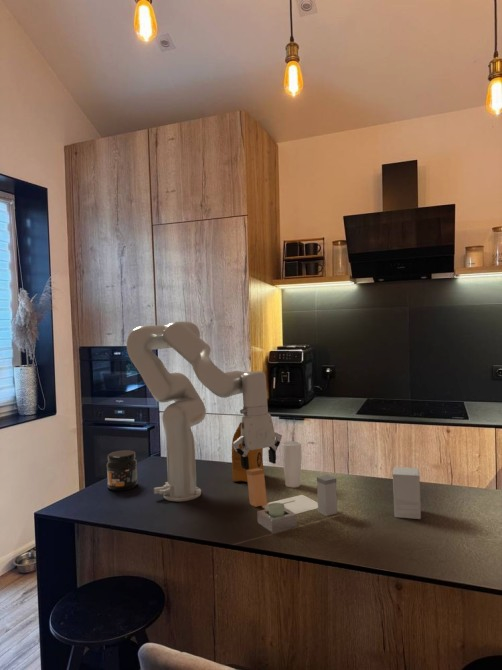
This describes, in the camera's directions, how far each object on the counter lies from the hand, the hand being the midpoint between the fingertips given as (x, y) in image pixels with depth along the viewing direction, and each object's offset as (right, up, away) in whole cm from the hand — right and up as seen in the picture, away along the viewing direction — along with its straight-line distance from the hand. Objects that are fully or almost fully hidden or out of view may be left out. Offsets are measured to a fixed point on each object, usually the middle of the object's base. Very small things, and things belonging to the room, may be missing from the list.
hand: (259, 465), depth 149 cm
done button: (+5, -11, -15) cm, 19 cm away
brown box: (0, -12, 0) cm, 12 cm away
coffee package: (-3, -13, +27) cm, 30 cm away
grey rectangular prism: (+20, -12, -8) cm, 25 cm away
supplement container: (-49, -14, +23) cm, 56 cm away
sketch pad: (+10, -12, -2) cm, 16 cm away
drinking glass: (+12, -12, +17) cm, 24 cm away
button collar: (+5, -13, -15) cm, 20 cm away
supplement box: (+43, -12, -10) cm, 46 cm away
